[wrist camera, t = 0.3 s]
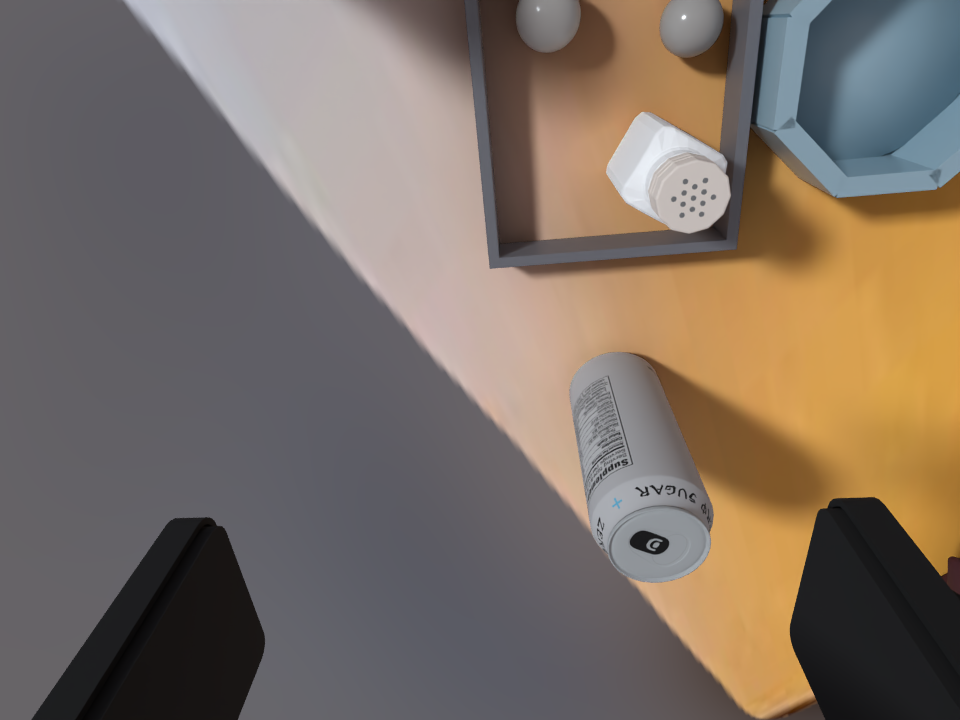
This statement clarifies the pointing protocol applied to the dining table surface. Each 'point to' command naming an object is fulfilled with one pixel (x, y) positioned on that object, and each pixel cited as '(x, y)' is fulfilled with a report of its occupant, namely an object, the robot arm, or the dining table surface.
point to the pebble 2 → (691, 26)
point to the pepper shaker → (670, 175)
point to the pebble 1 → (547, 23)
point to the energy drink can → (638, 471)
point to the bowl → (861, 92)
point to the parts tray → (642, 243)
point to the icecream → (953, 574)
